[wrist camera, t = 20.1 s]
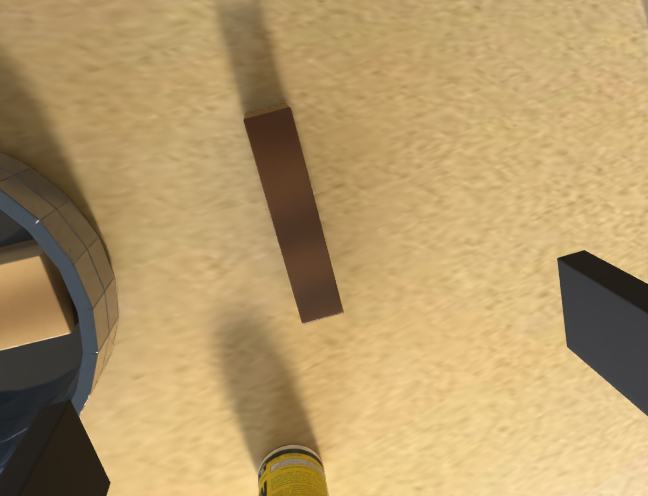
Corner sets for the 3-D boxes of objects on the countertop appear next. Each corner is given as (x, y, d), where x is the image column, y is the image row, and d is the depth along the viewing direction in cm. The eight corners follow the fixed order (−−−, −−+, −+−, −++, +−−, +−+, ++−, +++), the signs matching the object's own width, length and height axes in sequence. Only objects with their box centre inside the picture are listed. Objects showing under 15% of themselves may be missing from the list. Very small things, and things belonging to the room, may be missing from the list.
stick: (244, 113, 32) (243, 119, 28) (285, 102, 32) (290, 106, 28) (297, 298, 36) (302, 324, 32) (334, 287, 36) (344, 313, 32)
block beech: (-11, 249, 32) (-52, 276, 27) (67, 231, 32) (39, 255, 28) (19, 318, 33) (-15, 354, 29) (93, 300, 33) (70, 333, 29)
